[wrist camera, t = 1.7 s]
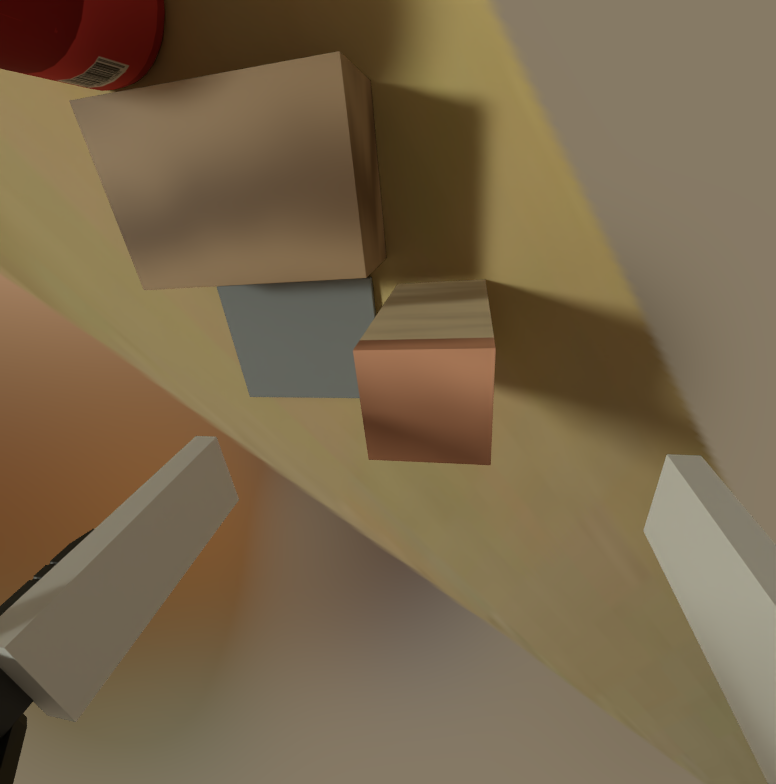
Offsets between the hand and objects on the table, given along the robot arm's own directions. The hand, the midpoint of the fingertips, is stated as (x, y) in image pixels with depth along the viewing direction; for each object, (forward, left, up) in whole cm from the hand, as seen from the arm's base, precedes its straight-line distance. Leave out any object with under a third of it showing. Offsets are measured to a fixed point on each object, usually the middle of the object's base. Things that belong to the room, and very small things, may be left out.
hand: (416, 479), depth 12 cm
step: (-8, -9, -14) cm, 18 cm away
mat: (+1, -9, -14) cm, 16 cm away
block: (0, 0, -14) cm, 14 cm away
